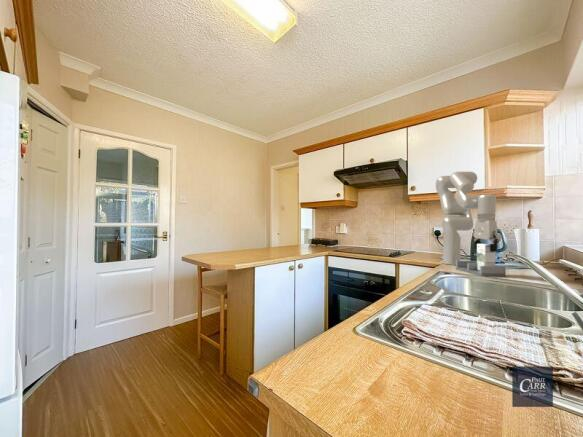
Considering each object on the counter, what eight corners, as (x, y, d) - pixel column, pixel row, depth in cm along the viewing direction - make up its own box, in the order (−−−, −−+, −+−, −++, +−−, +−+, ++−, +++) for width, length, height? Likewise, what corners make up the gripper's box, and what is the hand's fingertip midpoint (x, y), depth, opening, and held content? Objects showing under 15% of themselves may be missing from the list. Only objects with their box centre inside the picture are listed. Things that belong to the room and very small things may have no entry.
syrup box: (495, 272, 125) (496, 244, 126) (484, 272, 125) (485, 244, 126) (486, 270, 131) (487, 243, 131) (476, 270, 131) (476, 243, 131)
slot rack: (456, 269, 141) (456, 260, 141) (477, 269, 141) (477, 261, 141) (481, 276, 123) (481, 266, 123) (505, 276, 124) (505, 266, 124)
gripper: (466, 217, 137) (465, 247, 137) (494, 217, 120) (493, 252, 120) (479, 217, 137) (478, 247, 138) (508, 218, 120) (507, 252, 120)
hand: (485, 250), depth 129 cm, fingers open, 9 cm apart
